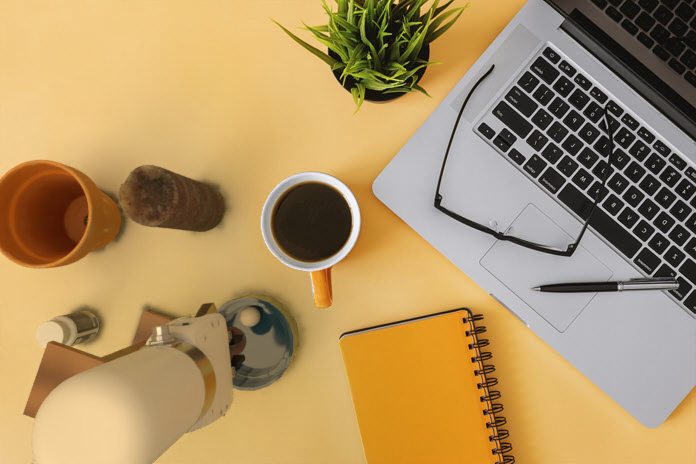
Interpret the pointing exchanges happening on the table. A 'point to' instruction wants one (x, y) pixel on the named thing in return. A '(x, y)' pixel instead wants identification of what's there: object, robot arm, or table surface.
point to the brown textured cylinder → (170, 200)
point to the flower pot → (53, 215)
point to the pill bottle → (68, 329)
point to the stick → (238, 347)
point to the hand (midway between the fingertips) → (231, 348)
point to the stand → (80, 361)
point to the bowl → (262, 341)
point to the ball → (249, 316)
